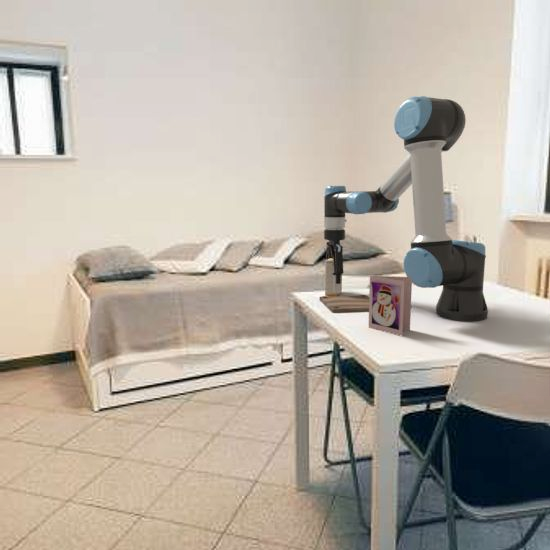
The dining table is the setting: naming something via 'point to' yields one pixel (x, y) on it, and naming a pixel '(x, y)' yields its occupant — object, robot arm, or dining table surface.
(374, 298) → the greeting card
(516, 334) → the dining table surface
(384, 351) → the dining table surface
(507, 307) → the dining table surface
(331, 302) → the plate
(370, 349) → the dining table surface
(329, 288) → the supplement box
